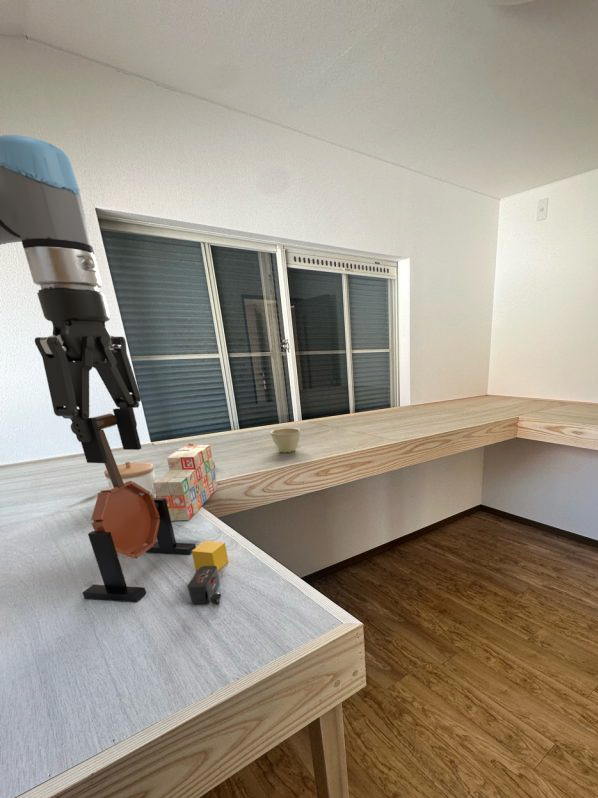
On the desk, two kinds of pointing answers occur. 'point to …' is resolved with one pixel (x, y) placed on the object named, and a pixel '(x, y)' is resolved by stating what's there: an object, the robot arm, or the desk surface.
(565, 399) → the desk surface
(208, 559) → the block
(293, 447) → the flower pot
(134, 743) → the desk surface
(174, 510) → the stack of blocks
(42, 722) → the desk surface
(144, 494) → the tipping bowl
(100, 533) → the bowl stand
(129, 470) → the trinket box
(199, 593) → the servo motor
